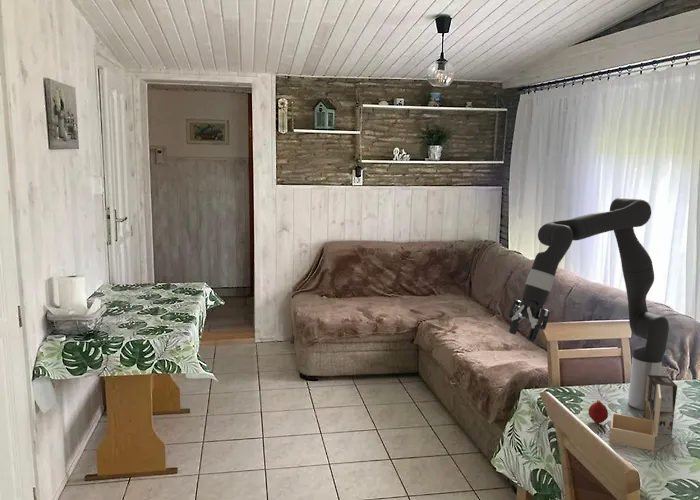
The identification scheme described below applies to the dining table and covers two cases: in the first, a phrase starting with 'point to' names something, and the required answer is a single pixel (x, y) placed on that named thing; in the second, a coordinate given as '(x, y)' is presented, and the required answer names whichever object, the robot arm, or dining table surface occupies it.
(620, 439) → the box
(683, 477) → the dining table surface
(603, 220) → the robot arm
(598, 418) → the onion
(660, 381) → the coffee box
